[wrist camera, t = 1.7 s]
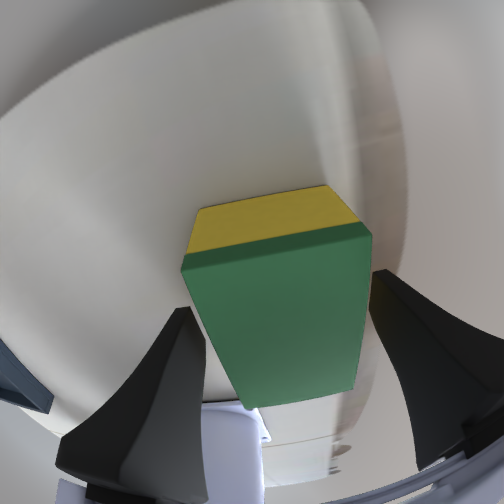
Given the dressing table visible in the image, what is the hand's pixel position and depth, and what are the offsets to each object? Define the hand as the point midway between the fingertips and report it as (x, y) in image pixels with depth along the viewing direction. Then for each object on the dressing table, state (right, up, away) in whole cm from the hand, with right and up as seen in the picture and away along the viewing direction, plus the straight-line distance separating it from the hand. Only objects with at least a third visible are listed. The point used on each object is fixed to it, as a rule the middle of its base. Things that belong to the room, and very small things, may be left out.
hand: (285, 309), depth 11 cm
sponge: (0, +1, +2) cm, 2 cm away
